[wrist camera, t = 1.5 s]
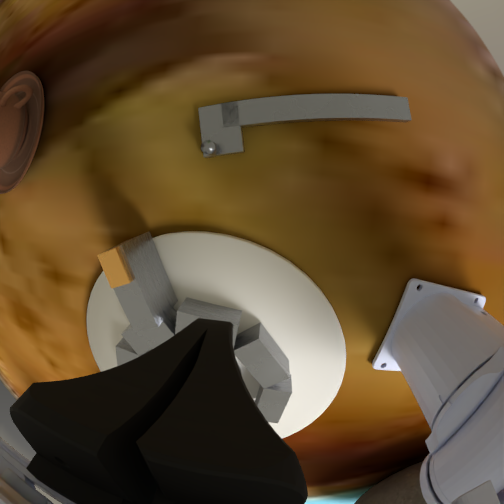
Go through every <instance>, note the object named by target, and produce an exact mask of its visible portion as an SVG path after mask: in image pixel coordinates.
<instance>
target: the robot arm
mask: <svg viewBox="0 0 504 504" xmlns="http://www.w3.org/2000/svg"><path fill="white" fill-rule="evenodd" d="M419 284H420V287H419V288H418V289H417V286H418V285H419ZM474 300H475V301H474ZM485 301H486V298H485V297H484V296H483V295H480V294H476V293H472V292H468V291H464V290H460V289H456V288H452V287H448V286H444V285H440V284H436V283H432V282H428V281H423V280H419V279H415V278H413V279H411V280H409V282H408V283H407V286H406V289H405V291H404V294H403V296H402V299H401V301H400V304H399V306H398V309H397V311H396V313H395V316H394V318H393V320H392V323H391V325H390V327H389V329H388V332H387V334H386V336H385V338H384V340H383V342H382V344H381V346H380V348H379V350H378V352H377V354H376V356H375V358H374V360H373V362H372V366H373V368H374V369H377V370H392V371H401V372H402V373H403V375H404V377H405V379H406V381H407V383H408V385H409V386H410V388H411V390H412V392H413V394H414V396H415V398H416V400H417V402H418V404H419V406H420V408H421V410H422V412H423V414H424V416H425V418H426V420H427V422H428V424H429V426H430V428H431V430H432V433H431V435H430V436H429V437H428V438H427V439H426V440H425V443H426V445H427V447H428V450H429V452H430V453H429V454H428V456H427V457H426V458H425V460H424V461H423V463H422V466H421V470H420V486H421V490H422V494H423V497H424V499H425V501H426V503H427V504H504V326H503V325H502V324H501V323H500V322H498V321H497V320H496V319H495V318H494V317H492V316H491V315H490V314H489V313H487V312H486V311H485V310H484V309H483V306H484V304H485ZM383 363H384V364H383ZM382 364H383V365H382ZM10 414H11V417H12V420H13V422H14V423H15V425H16V426H17V428H18V429H19V431H20V432H21V434H22V435H23V436H24V438H25V439H26V440H27V441H28V443H29V444H30V445H31V446H32V448H33V449H34V450H35V451H36V455H35V456H34V458H33V459H32V461H29V460H28V459H27V458H25V457H24V456H22V455H21V454H20V453H19V452H17V451H16V450H15V449H14V448H12V447H11V446H10V445H9V444H8V443H6V442H5V441H4V440H3V439H2V438H0V504H53V503H52V502H51V501H50V500H49V499H48V498H46V497H45V496H43V495H42V494H41V493H39V492H38V491H37V490H36V488H35V486H37V487H38V488H39V489H41V490H42V491H44V492H45V493H47V494H48V495H50V496H51V497H53V498H54V499H56V500H57V501H59V502H61V503H62V504H304V503H305V502H306V499H307V496H308V493H307V486H306V481H305V478H304V474H303V472H302V469H301V466H300V464H299V461H298V459H297V456H296V454H295V452H294V451H293V450H292V449H291V448H290V447H289V446H288V445H287V444H286V443H285V442H284V441H283V440H282V438H281V437H280V436H279V435H278V434H277V433H276V432H275V430H274V429H273V428H272V427H271V425H270V424H269V423H268V421H267V420H266V419H265V417H264V416H263V414H262V413H261V411H260V410H259V408H258V407H257V405H256V403H255V402H254V400H253V398H252V397H251V395H250V393H249V391H248V389H247V387H246V385H245V383H244V380H243V378H242V375H241V373H240V370H239V367H238V364H237V361H236V357H235V353H234V349H233V324H232V323H231V322H228V321H219V320H211V319H203V318H197V319H196V320H195V321H193V322H192V323H191V324H189V325H188V326H186V327H185V328H184V329H182V330H181V331H180V332H178V333H177V334H175V335H174V336H173V337H171V338H170V339H168V340H167V341H165V342H164V343H162V344H160V345H159V346H157V347H155V348H154V349H152V350H150V351H149V352H147V353H145V354H143V355H141V356H139V357H137V358H135V359H133V360H131V361H129V362H126V363H124V364H122V365H119V366H117V367H114V368H111V369H108V370H105V371H102V372H99V373H96V374H92V375H88V376H84V377H79V378H74V379H69V380H62V381H52V382H40V383H33V384H32V385H31V386H30V387H29V388H28V389H27V390H26V391H25V392H24V393H23V394H22V395H21V397H20V398H19V399H18V400H17V401H16V402H15V403H14V404H13V405H12V406H11V407H10ZM34 485H35V486H34Z"/></svg>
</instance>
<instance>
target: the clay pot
mask: <svg viewBox="0 0 504 504" xmlns="http://www.w3.org/2000/svg"><path fill="white" fill-rule="evenodd" d="M422 463H423V461H422V462H420V463H417V464H414V465H412V466H409V467H407V468H405V469H403V470H401V471H399V472H397V473H395V474H393V475H391V476H389V477H388V478H386V479H384V480H382V481H381V482H379V483H378V484H376V485H375V486H373V487H372V488H370V489H369V490H368V491H367V492H365V493H364V494H363V495H362V496H361V497H360V498H359V499H358V500H357V501H356V502H355V503H354V504H427V503H426V501H425V499H424V497H423V494H422V490H421V486H420V470H421V466H422Z"/></svg>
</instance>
